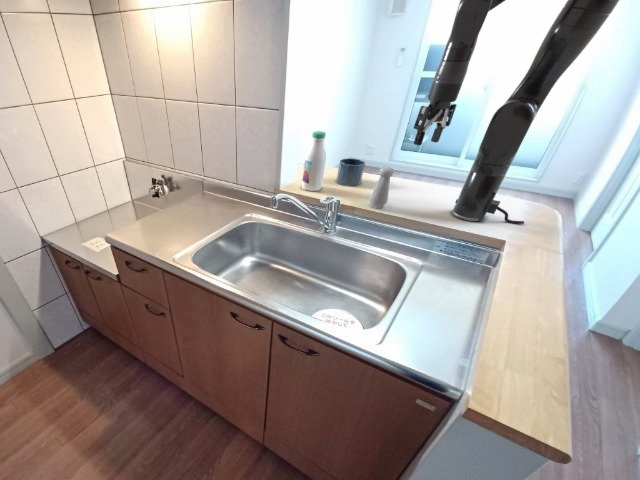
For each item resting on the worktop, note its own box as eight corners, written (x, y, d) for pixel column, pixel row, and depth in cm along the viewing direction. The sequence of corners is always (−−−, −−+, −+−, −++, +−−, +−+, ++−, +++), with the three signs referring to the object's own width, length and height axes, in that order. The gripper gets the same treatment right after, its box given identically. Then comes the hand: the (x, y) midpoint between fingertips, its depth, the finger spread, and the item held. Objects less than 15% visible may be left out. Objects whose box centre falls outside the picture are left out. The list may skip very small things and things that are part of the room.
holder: (364, 181, 133) (369, 161, 128) (354, 187, 128) (358, 167, 123) (342, 176, 138) (346, 157, 133) (332, 182, 132) (335, 162, 127)
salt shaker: (388, 209, 111) (399, 170, 103) (371, 209, 111) (381, 170, 103) (382, 203, 115) (393, 165, 107) (366, 203, 115) (376, 165, 107)
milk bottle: (321, 185, 130) (330, 130, 117) (320, 192, 124) (330, 135, 111) (302, 184, 131) (309, 129, 119) (300, 190, 125) (307, 133, 113)
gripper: (445, 83, 85) (422, 149, 96) (475, 81, 91) (450, 143, 101) (420, 80, 90) (400, 143, 100) (450, 78, 96) (429, 138, 106)
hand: (425, 143), depth 101 cm, fingers open, 8 cm apart
